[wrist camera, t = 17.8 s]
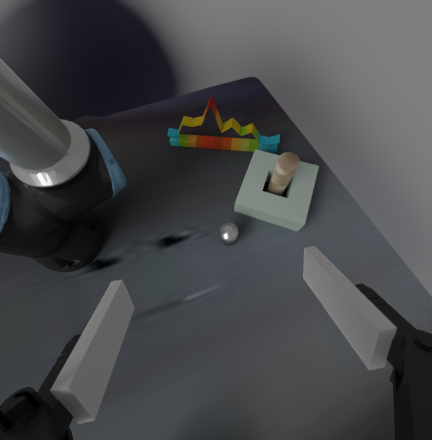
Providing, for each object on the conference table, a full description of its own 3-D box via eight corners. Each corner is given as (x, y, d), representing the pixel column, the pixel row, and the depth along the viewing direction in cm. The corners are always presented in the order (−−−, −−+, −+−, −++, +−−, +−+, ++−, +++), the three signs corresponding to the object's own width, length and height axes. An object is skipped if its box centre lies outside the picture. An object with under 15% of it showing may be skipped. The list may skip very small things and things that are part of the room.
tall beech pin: (263, 198, 53) (276, 165, 40) (268, 185, 54) (281, 149, 41) (279, 202, 52) (297, 171, 39) (283, 189, 53) (301, 155, 40)
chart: (275, 144, 59) (291, 97, 45) (275, 154, 58) (291, 108, 44) (173, 137, 62) (157, 90, 48) (171, 146, 61) (154, 100, 47)
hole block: (234, 211, 52) (235, 202, 47) (252, 161, 57) (255, 149, 52) (297, 231, 49) (304, 224, 45) (311, 177, 54) (319, 166, 50)
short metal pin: (218, 242, 49) (217, 236, 45) (223, 227, 51) (223, 220, 46) (234, 247, 49) (234, 242, 44) (239, 232, 50) (240, 226, 45)
